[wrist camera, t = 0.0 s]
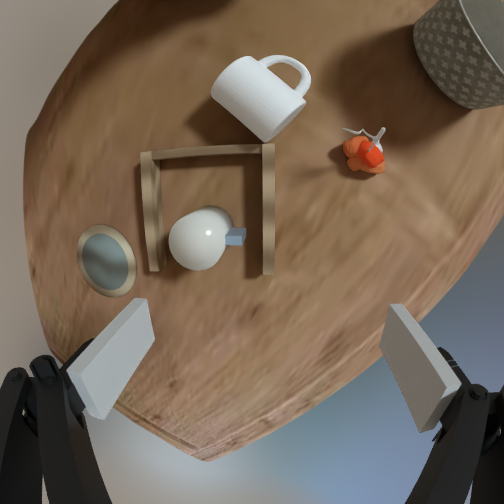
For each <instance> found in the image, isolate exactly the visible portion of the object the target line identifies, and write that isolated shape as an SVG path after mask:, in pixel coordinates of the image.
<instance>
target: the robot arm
mask: <svg viewBox="0 0 504 504" xmlns="http://www.w3.org/2000/svg"><path fill="white" fill-rule="evenodd" d="M154 341H155V338H154V333H153V328H152V324H151V319H150V314H149V309H148V303H147V299H142V298H134V299H133V300H132V301H131V302H130V303H129V304H128V305H127V306H126V307H125V308H124V309H123V310H122V311H121V312H120V313H119V314H118V315H117V316H116V317H115V318H114V320H113V321H112V322H111V323H110V324H109V325H108V326H107V327H106V328H105V329H104V330H103V331H102V332H101V333H100V334H99V335H98V336H97V337H96V338H95V339H94V338H92V339H90V340H88V341H87V342H85V343H84V344H83V345H82V346H81V347H80V348H79V349H78V350H77V351H76V352H75V353H74V355H72V356H71V357H70V358H69V359H68V361H67V362H66V363H65V364H64V365H63V366H62V367H61V368H60V369H59V368H58V366H57V364H56V361H55V359H54V358H53V357H52V356H50V355H41V356H39V357H37V358H35V359H34V360H33V361H32V362H31V363H30V366H29V367H30V369H31V371H32V373H33V375H34V377H29V375H28V374H27V372H26V370H25V369H24V368H20V367H18V368H14V369H12V370H11V371H9V372H8V374H7V375H6V377H5V379H4V381H3V384H2V386H1V388H0V504H42V478H43V476H44V481H45V486H46V491H47V496H48V500H49V504H112V502H111V500H110V497H109V495H108V492H107V490H106V487H105V485H104V482H103V479H102V476H101V474H100V471H99V468H98V465H97V461H96V458H95V455H94V452H93V449H92V445H91V441H90V437H89V433H88V429H87V425H86V421H85V417H84V415H83V413H82V411H83V410H84V408H85V407H86V409H87V410H88V412H89V414H90V415H91V416H93V417H96V418H99V419H101V420H104V419H105V418H106V416H107V414H108V413H109V411H110V410H111V408H112V406H113V405H114V403H115V401H116V400H117V398H118V397H119V395H120V393H121V392H122V390H123V389H124V387H125V386H126V384H127V382H128V381H129V379H130V378H131V376H132V375H133V373H134V371H135V370H136V368H137V367H138V365H139V364H140V362H141V361H142V359H143V357H144V356H145V354H146V353H147V351H148V350H149V348H150V347H151V345H152V344H153V342H154ZM379 346H380V348H381V350H382V352H383V354H384V356H385V358H386V360H387V362H388V364H389V366H390V368H391V370H392V372H393V374H394V377H395V378H396V381H397V383H398V385H399V387H400V389H401V392H402V394H403V396H404V398H405V401H406V403H407V405H408V407H409V410H410V412H411V414H412V417H413V419H414V421H415V424H416V426H417V428H418V431H419V433H421V432H425V431H428V430H432V429H434V428H435V426H436V425H437V423H438V422H439V420H440V422H441V423H442V428H441V429H440V430H439V432H438V433H437V434H436V436H435V437H434V438H433V440H432V441H435V439H436V441H435V443H434V446H433V448H432V450H431V453H430V455H429V458H428V460H427V462H426V464H425V466H424V468H423V470H422V473H421V475H420V477H419V479H418V481H417V482H416V484H415V486H414V488H413V490H412V492H411V494H410V496H409V497H408V499H407V501H406V502H405V504H464V503H465V500H466V497H467V495H468V492H469V489H470V486H471V483H472V480H473V483H472V492H471V499H470V504H504V386H503V387H502V389H501V390H500V392H494V393H489V392H488V391H487V389H486V388H484V387H483V386H481V385H479V384H471V383H470V381H469V380H468V378H467V377H466V376H465V374H464V373H463V372H462V370H461V369H460V368H459V366H457V363H456V362H455V361H454V360H453V358H452V356H451V355H450V354H449V353H448V352H447V351H446V350H444V349H443V348H441V347H439V348H436V347H435V345H434V344H433V343H432V341H431V340H430V339H429V337H428V336H427V335H426V333H425V332H424V331H423V330H422V328H421V327H420V326H419V324H418V323H417V322H416V321H415V319H414V318H413V317H412V316H411V314H410V313H409V312H408V311H407V309H406V308H405V307H404V306H403V305H402V304H390V305H389V310H388V314H387V318H386V322H385V326H384V330H383V334H382V338H381V342H380V345H379ZM23 410H24V411H25V414H24V416H23V415H22V412H23ZM500 429H501V434H500Z"/></svg>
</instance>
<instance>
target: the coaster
mask: <svg viewBox="0 0 504 504" xmlns="http://www.w3.org/2000/svg"><path fill="white" fill-rule="evenodd" d="M77 260H78V265H79V268H80V271H81V273H82V275H83V277H84V279H85V280H86V281H87V283H88V284H89V285H90V286H91V287H92V288H93V289H94V290H95V291H97V292H98V293H100V294H102V295H104V296H108V297H119V296H122V295H124V294H125V293H127V292H128V291H129V290H130V289H131V287H132V286H133V284H134V282H135V278H136V273H137V266H136V260H135V256H134V253H133V250H132V248H131V246H130V244H129V243H128V241H127V240H126V239H125V237H124V236H123V235H122V234H121V233H120V232H118V231H117V230H116V229H114V228H112V227H110V226H107V225H95V226H92V227H90V228H88V229H87V230H86V231H85V232H84V233H83V234H82V235H81V237H80V239H79V242H78V246H77Z"/></svg>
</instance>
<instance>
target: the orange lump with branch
mask: <svg viewBox="0 0 504 504" xmlns="http://www.w3.org/2000/svg"><path fill="white" fill-rule="evenodd" d="M342 129H343V130H346V131H348V132H351V133H353V134H360V133H361V132H362V131H363V132H364V133H365V134H366V135H367V136H369V137H371V138H373V139H372V142H369V141H368V139H367V137H365V136H355V137H353V138H351V139H350V140H347V141H345V142H344V143H343V151H344V153H345V154H346V155H347V157H349V159H348V160H347V164H348V166H349V168H350V169H351V170H353V171H356V170H362V171H366V172H368V173H374V174H380V173H383V172H384V170H385V162H384V156H383V154H382V151H383V149H382V147H381V145H380V143H379V139H380V138H381V137H382V135H383V133H384V132H385V128H384V127H383V128H381V130H380V131H379V133H378V134H377V136H372V135H370V134H368V133H366V132H365V130H364V129H362V130H361V131H360V132H356V131H352V130H349V129H346V128H342Z"/></svg>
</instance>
